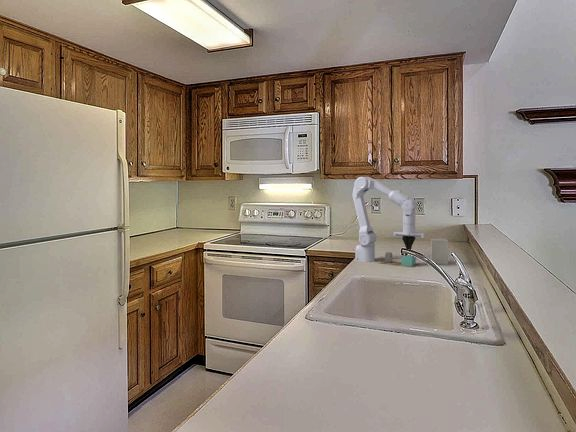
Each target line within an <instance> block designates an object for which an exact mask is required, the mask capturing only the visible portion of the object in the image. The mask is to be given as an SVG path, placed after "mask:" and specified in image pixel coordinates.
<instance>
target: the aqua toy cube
mask: <svg viewBox="0 0 576 432" xmlns="http://www.w3.org/2000/svg"><path fill="white" fill-rule="evenodd" d="M400 255H401V254H400ZM400 262H401V265H403V266H402V267H404V266H414V265H415V264H416V257H414V256H411V255H408V256H402V255H401V261H400Z"/></svg>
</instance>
